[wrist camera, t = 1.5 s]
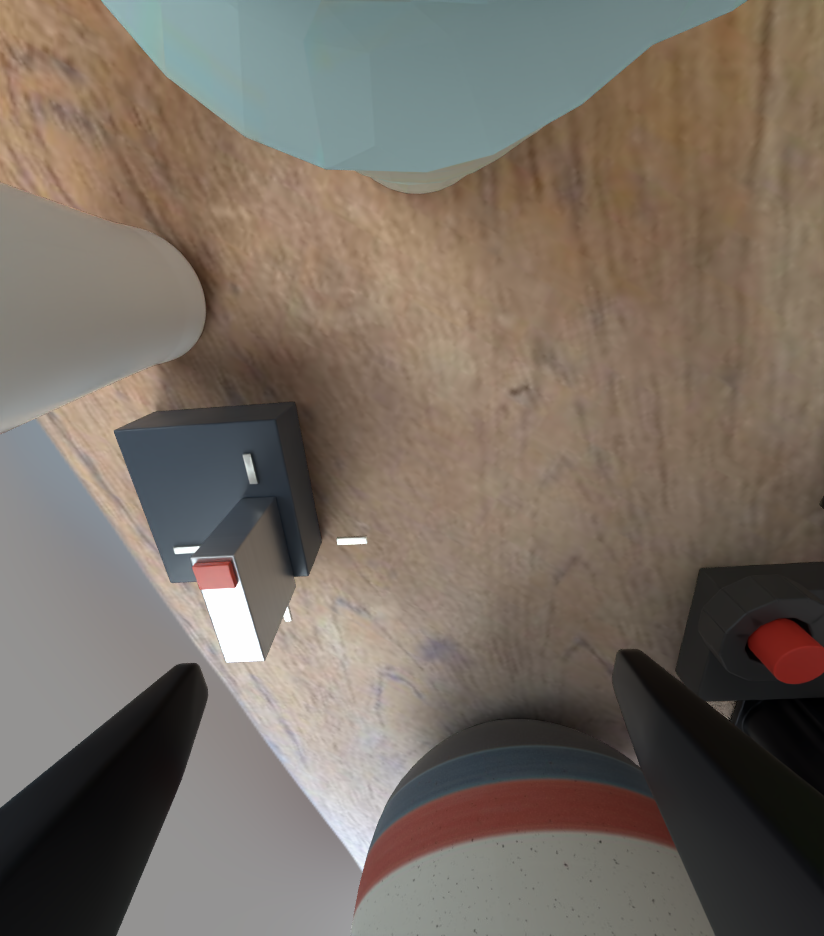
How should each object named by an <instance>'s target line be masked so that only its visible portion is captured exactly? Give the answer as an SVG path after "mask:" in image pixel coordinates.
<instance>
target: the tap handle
mask: <svg viewBox="0 0 824 936" xmlns="http://www.w3.org/2000/svg"><path fill="white" fill-rule="evenodd" d="M190 560H191V563H192V565H193V566H192V569H193V572H194V574H195V577H196V580H197V583H198V586H199V589H200V590H201V592H202V594H203V597H204V600H205V603H206V606H207V609H208V612H209V615H210V618H211V621H212V623H213V626H214V629H215V632H216V635H217V638H218V641H219V644H220V647H221V650H222V652H223V655H224V658H225V661H226V662H227V663H228V662H252V661H265V659H266V657H267V655H268V652H269V650H270V647H271V645H272V643H273V640H274V638H275V635H276V633H277V631H278V628H279V626H280V624H281V621H282V619H283V616H284V614H285V612H286V609H287V607H288V604H289V602H290V600H291V597H292V595H293V593H294V590H295V588H296V584H295V579H294V575H293V571H292V566H291V562H290V558H289V553H288V549H287V545H286V540H285V536H284V532H283V527H282V523H281V519H280V514H279V510H278V506H277V501H276V497H262V498H245V499H240V501H239V502H238V503H237V504H236V505H235V506H234V508H233V509H232V510H231V511H230V512H229V513H228V515H227V516H226V517H225V518H224V519H223V520H222V522H221V523H220V524H219V525H218V526H217V527H216V529H215V530H214V531H213V532H212V533H211V534H210V536H209V537H208V538H207V539H206V540H205V541H204V542H203V544H202V545H201V546H200V547H199V548H198V549H197V551H196V552H195V553H194V554H193V555H192V556H191V558H190Z"/></svg>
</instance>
